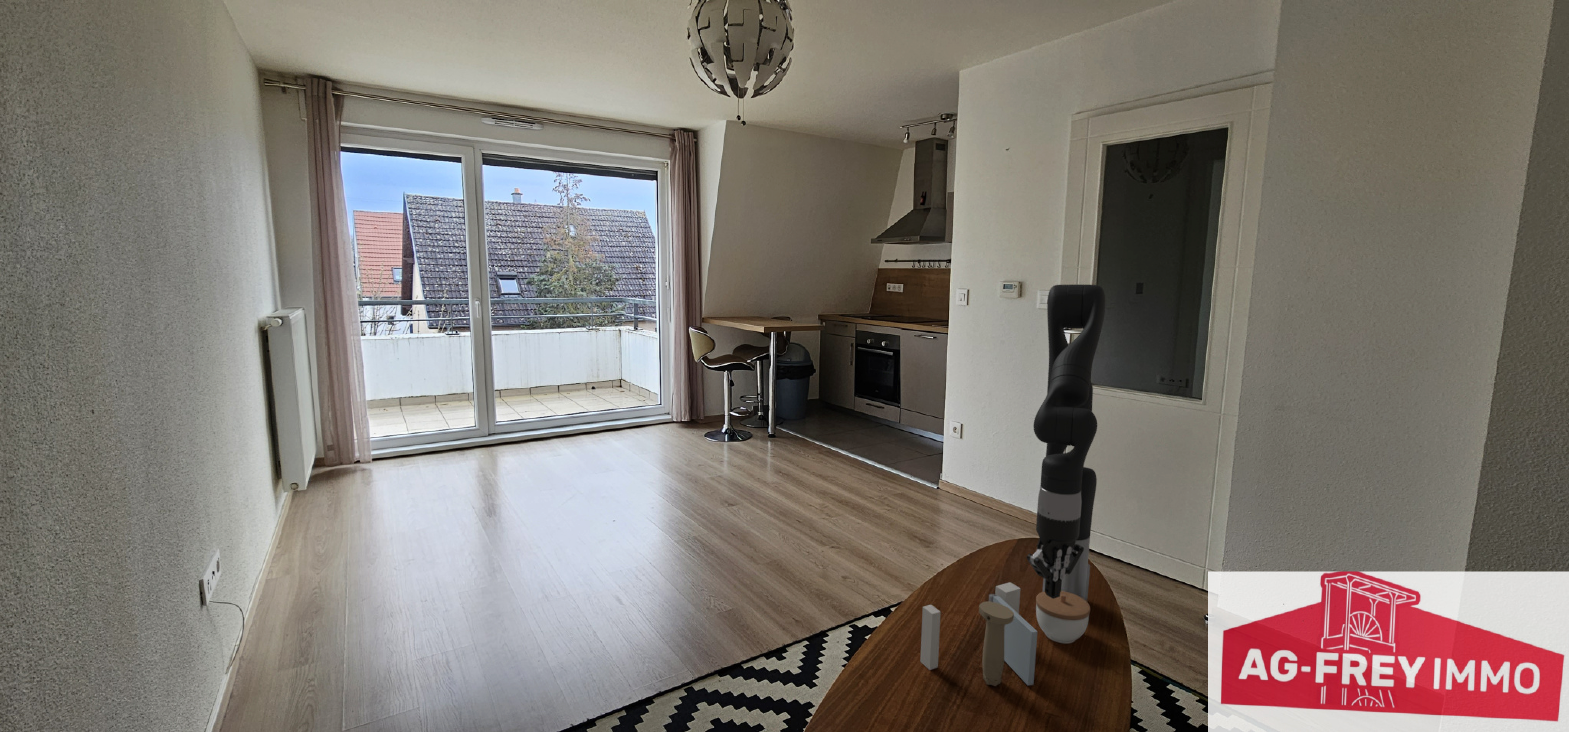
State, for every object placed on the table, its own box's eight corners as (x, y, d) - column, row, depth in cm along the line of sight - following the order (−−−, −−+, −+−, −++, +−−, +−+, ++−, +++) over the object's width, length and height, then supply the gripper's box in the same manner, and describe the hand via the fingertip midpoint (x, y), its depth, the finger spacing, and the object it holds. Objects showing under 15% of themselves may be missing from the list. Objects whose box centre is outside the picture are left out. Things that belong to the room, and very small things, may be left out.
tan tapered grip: (998, 695, 126) (1003, 621, 123) (970, 678, 131) (974, 606, 128) (1013, 684, 129) (1018, 612, 126) (985, 668, 134) (989, 598, 131)
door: (984, 640, 143) (987, 592, 141) (991, 639, 143) (994, 591, 141) (1026, 685, 128) (1030, 632, 126) (1034, 684, 128) (1038, 631, 126)
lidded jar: (1082, 655, 138) (1086, 613, 137) (1028, 639, 144) (1031, 598, 142) (1091, 631, 147) (1094, 591, 146) (1039, 616, 153) (1042, 578, 151)
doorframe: (1006, 633, 146) (1009, 582, 144) (1016, 640, 143) (1020, 588, 141) (920, 661, 136) (922, 606, 134) (929, 669, 133) (932, 613, 131)
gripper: (1048, 525, 120) (1042, 613, 123) (1100, 511, 126) (1093, 596, 129) (1017, 510, 127) (1012, 594, 130) (1067, 497, 133) (1061, 579, 136)
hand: (1052, 595), depth 130 cm, fingers closed
